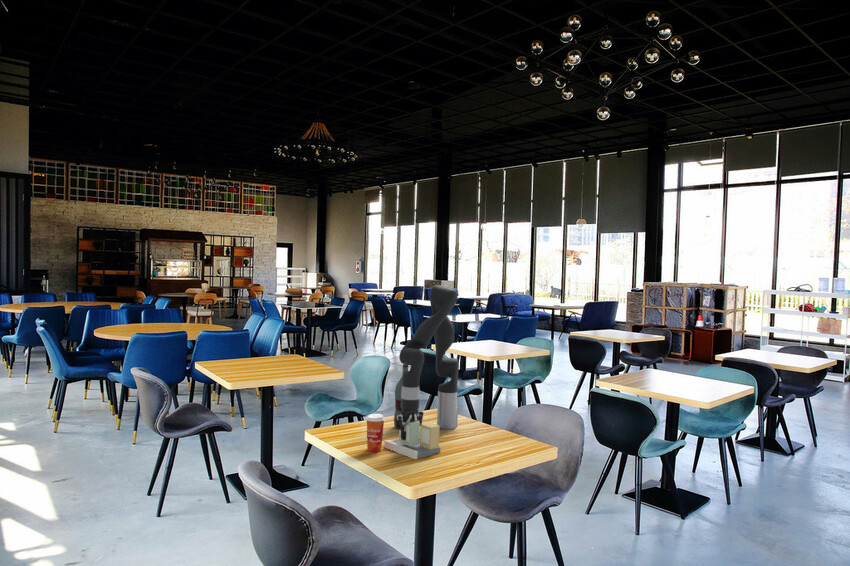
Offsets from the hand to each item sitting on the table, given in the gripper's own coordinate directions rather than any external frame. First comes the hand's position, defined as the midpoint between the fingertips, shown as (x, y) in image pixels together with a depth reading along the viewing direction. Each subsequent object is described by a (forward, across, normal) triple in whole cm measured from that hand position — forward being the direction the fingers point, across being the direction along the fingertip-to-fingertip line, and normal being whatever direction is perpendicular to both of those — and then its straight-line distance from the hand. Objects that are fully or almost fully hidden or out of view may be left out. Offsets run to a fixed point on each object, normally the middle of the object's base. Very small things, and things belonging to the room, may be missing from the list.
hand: (408, 438), depth 220 cm
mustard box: (+3, +6, -6) cm, 9 cm away
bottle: (+6, +21, +27) cm, 35 cm away
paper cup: (+6, -10, +10) cm, 15 cm away
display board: (+5, +3, 0) cm, 6 cm away
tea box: (+2, 0, 0) cm, 2 cm away
